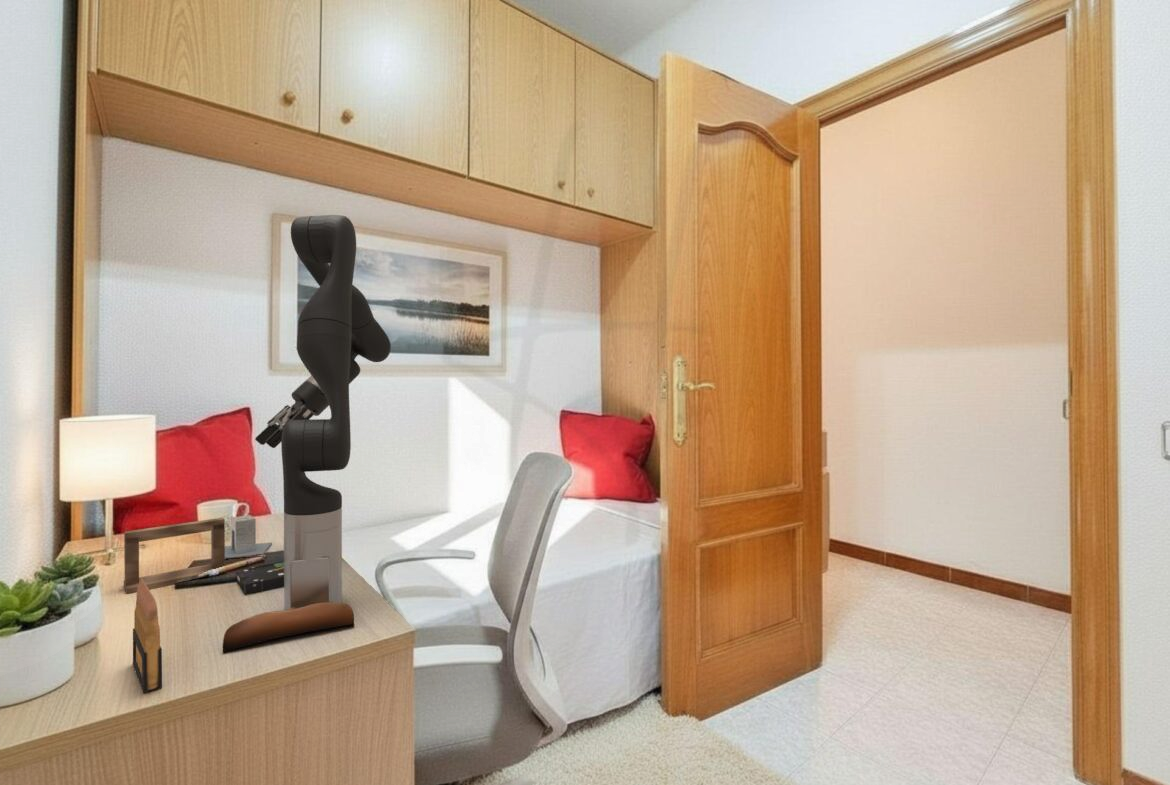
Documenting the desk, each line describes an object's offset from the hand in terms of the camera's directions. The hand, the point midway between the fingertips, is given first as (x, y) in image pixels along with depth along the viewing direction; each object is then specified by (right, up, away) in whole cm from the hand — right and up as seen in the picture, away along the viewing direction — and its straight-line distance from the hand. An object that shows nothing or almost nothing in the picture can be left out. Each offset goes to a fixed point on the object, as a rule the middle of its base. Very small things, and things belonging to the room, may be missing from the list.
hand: (263, 443), depth 116 cm
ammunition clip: (+11, -27, -44) cm, 53 cm away
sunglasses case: (+23, -28, -30) cm, 47 cm away
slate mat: (-11, -27, +10) cm, 30 cm away
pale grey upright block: (-11, -26, +10) cm, 30 cm away
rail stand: (-13, -27, -8) cm, 31 cm away
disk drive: (+8, -27, -8) cm, 30 cm away
